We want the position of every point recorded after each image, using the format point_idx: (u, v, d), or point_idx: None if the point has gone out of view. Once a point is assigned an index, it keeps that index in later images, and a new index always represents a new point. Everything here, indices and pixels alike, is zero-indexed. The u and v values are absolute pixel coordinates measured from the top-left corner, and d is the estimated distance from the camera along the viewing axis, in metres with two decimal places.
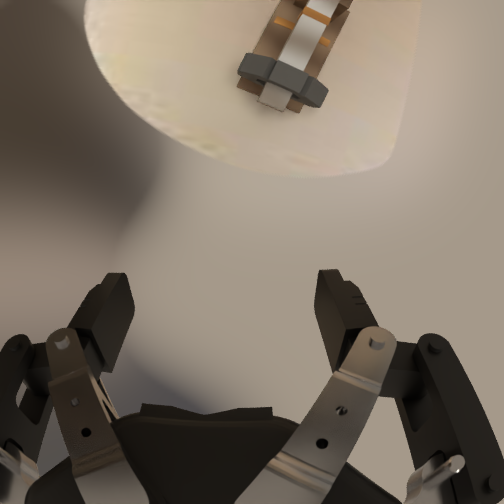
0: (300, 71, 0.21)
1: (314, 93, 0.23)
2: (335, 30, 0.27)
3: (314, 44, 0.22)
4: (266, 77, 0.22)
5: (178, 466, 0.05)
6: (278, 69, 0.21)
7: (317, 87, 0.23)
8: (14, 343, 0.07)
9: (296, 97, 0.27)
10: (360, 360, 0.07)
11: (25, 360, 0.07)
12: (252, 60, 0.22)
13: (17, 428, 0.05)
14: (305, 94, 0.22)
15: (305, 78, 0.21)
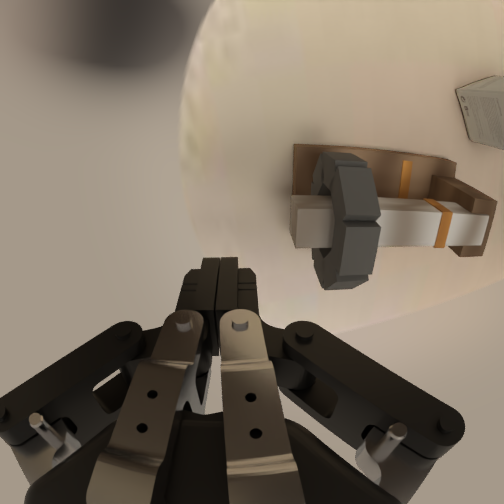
0: (372, 262, 0.15)
1: (343, 284, 0.17)
2: None
3: (405, 243, 0.18)
4: (345, 218, 0.15)
5: (178, 466, 0.05)
6: (366, 233, 0.14)
7: (352, 284, 0.17)
8: (122, 332, 0.08)
9: None
10: (235, 346, 0.08)
11: (139, 349, 0.08)
12: (362, 181, 0.15)
13: (81, 412, 0.06)
14: (339, 280, 0.16)
15: (364, 272, 0.16)
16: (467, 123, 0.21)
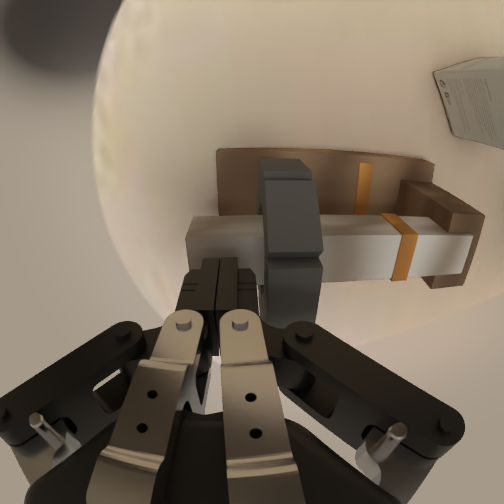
0: (313, 312, 0.12)
1: None
2: None
3: (347, 277, 0.14)
4: (271, 256, 0.11)
5: (178, 466, 0.05)
6: (300, 277, 0.11)
7: None
8: (122, 332, 0.08)
9: None
10: (235, 346, 0.08)
11: (140, 349, 0.08)
12: (300, 201, 0.11)
13: (81, 412, 0.06)
14: None
15: None
16: (449, 114, 0.17)
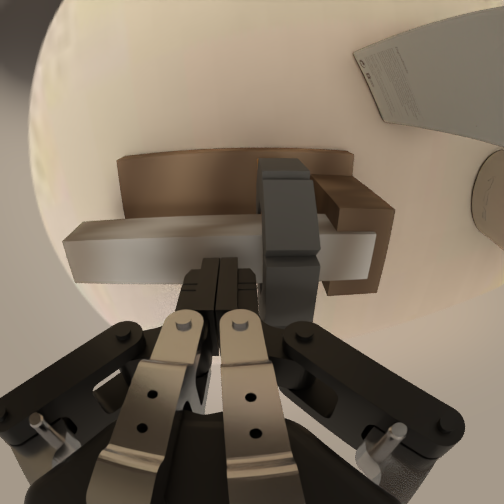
0: (311, 310, 0.12)
1: None
2: None
3: None
4: (269, 254, 0.11)
5: (178, 466, 0.05)
6: (297, 275, 0.11)
7: None
8: (122, 332, 0.08)
9: None
10: (235, 346, 0.08)
11: (140, 349, 0.08)
12: (297, 200, 0.11)
13: (81, 412, 0.06)
14: None
15: None
16: (375, 97, 0.17)
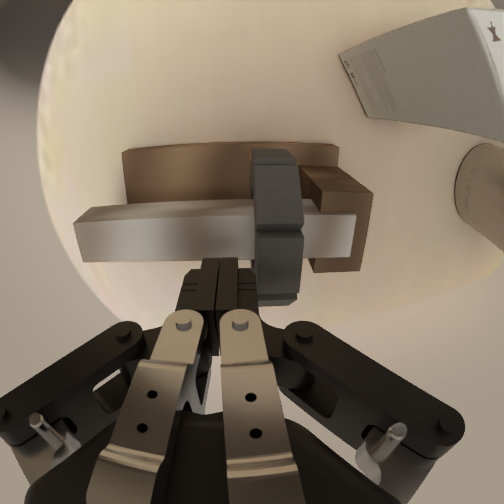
0: (297, 279, 0.13)
1: (269, 303, 0.15)
2: None
3: (206, 257, 0.16)
4: (259, 228, 0.13)
5: (179, 466, 0.05)
6: (284, 246, 0.13)
7: (281, 302, 0.15)
8: (122, 332, 0.08)
9: None
10: (235, 346, 0.08)
11: (140, 349, 0.08)
12: (284, 182, 0.13)
13: (81, 412, 0.06)
14: (259, 299, 0.14)
15: (288, 291, 0.14)
16: (359, 95, 0.19)
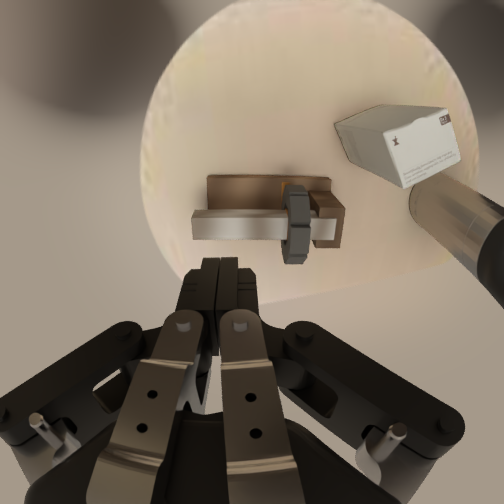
0: (307, 247, 0.30)
1: (294, 260, 0.32)
2: None
3: (263, 237, 0.33)
4: (292, 223, 0.29)
5: (178, 466, 0.05)
6: (302, 231, 0.29)
7: (299, 260, 0.32)
8: (122, 331, 0.08)
9: None
10: (235, 346, 0.08)
11: (140, 348, 0.08)
12: (302, 204, 0.30)
13: (81, 412, 0.06)
14: (290, 256, 0.31)
15: (303, 252, 0.30)
16: None
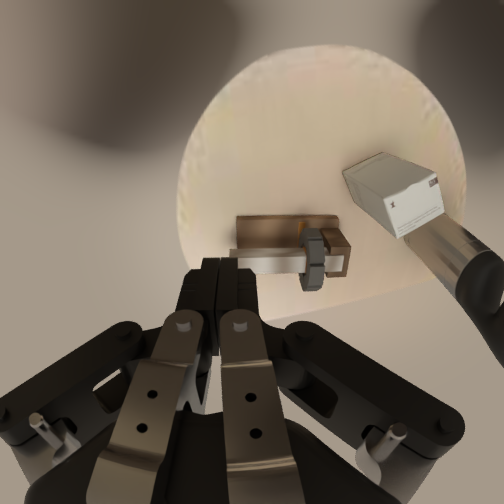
0: (322, 280, 0.38)
1: (311, 289, 0.40)
2: None
3: (286, 271, 0.41)
4: (310, 263, 0.38)
5: (178, 466, 0.05)
6: (318, 269, 0.38)
7: (315, 289, 0.40)
8: (122, 332, 0.08)
9: None
10: (235, 346, 0.08)
11: (140, 349, 0.08)
12: (318, 247, 0.38)
13: (81, 412, 0.06)
14: (308, 287, 0.39)
15: (319, 284, 0.39)
16: None
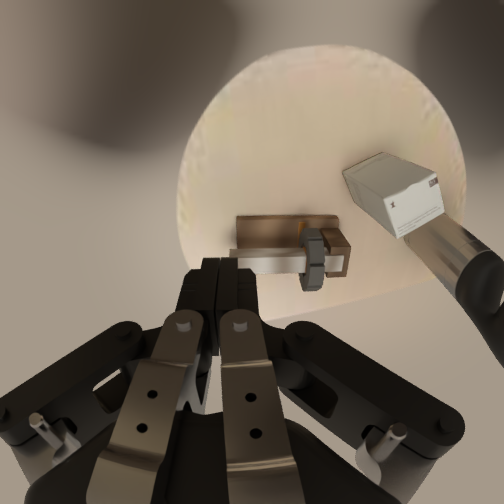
0: (322, 280, 0.38)
1: (311, 289, 0.40)
2: None
3: (286, 271, 0.41)
4: (310, 263, 0.38)
5: (179, 467, 0.05)
6: (318, 269, 0.38)
7: (315, 289, 0.40)
8: (122, 332, 0.08)
9: None
10: (235, 346, 0.08)
11: (140, 349, 0.08)
12: (318, 247, 0.38)
13: (81, 412, 0.06)
14: (308, 287, 0.39)
15: (319, 284, 0.39)
16: None
